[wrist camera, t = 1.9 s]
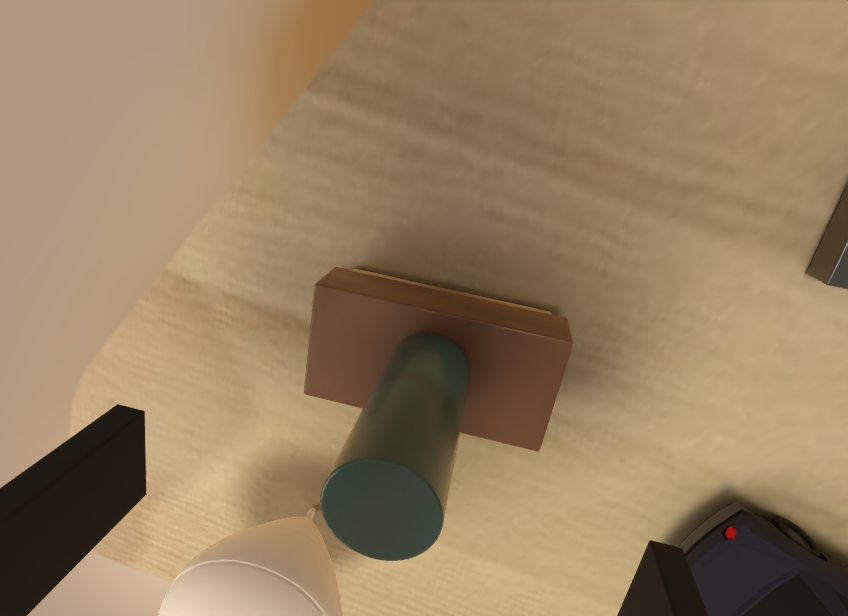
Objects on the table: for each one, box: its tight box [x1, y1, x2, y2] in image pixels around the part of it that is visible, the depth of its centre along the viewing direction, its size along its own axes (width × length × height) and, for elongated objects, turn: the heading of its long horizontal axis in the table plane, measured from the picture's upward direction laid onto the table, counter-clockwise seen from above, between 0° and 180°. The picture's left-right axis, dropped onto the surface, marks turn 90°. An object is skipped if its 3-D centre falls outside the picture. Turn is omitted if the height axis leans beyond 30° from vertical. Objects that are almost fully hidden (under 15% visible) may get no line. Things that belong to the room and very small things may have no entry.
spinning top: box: [158, 508, 342, 616], centre depth 23 cm, size 8×8×12 cm
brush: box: [304, 267, 573, 561], centre depth 19 cm, size 10×5×12 cm, turn 80°
